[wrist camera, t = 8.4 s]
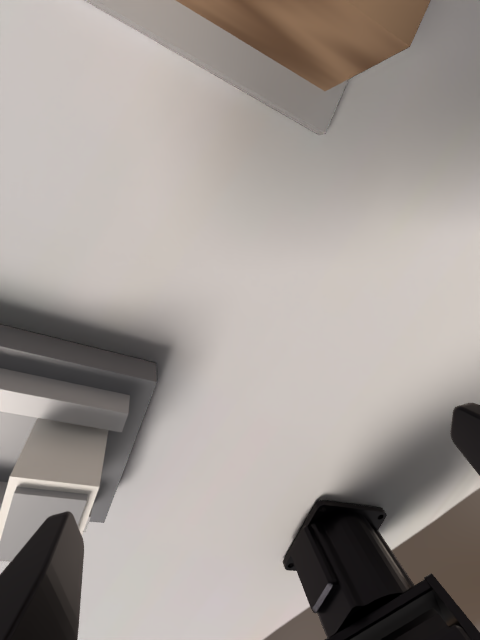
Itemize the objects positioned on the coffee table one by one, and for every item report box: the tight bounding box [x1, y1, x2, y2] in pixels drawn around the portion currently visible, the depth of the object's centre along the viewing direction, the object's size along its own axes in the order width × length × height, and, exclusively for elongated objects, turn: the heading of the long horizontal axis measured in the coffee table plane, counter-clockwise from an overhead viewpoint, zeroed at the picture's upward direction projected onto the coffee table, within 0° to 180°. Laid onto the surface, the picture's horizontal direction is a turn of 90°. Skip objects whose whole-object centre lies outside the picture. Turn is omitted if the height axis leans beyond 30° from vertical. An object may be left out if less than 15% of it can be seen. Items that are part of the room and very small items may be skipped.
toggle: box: [0, 418, 108, 561], centre depth 15 cm, size 3×4×4 cm
